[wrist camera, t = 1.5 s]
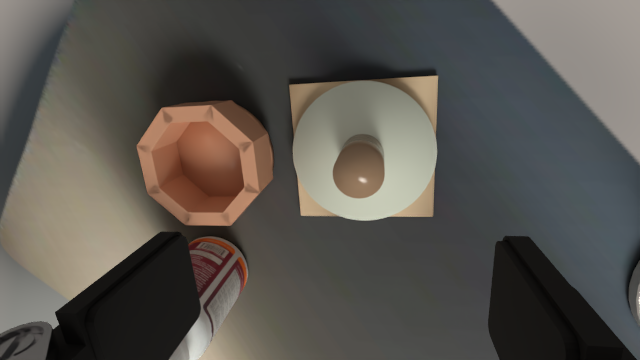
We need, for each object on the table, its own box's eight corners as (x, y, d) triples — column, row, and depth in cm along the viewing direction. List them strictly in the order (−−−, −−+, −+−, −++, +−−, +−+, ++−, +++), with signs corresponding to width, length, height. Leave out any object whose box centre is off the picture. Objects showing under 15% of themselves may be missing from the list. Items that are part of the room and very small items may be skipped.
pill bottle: (171, 252, 31) (64, 349, 21) (222, 221, 29) (132, 310, 19) (213, 304, 32) (131, 421, 22) (264, 277, 31) (201, 391, 20)
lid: (438, 75, 23) (453, 79, 18) (432, 216, 26) (444, 253, 21) (289, 84, 24) (265, 90, 20) (301, 215, 28) (283, 248, 23)
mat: (437, 75, 23) (438, 75, 23) (432, 214, 26) (432, 216, 26) (290, 84, 25) (289, 84, 24) (302, 213, 28) (300, 215, 28)
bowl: (267, 97, 25) (248, 103, 22) (279, 204, 28) (263, 226, 24) (163, 103, 27) (128, 109, 23) (183, 204, 29) (154, 224, 26)
